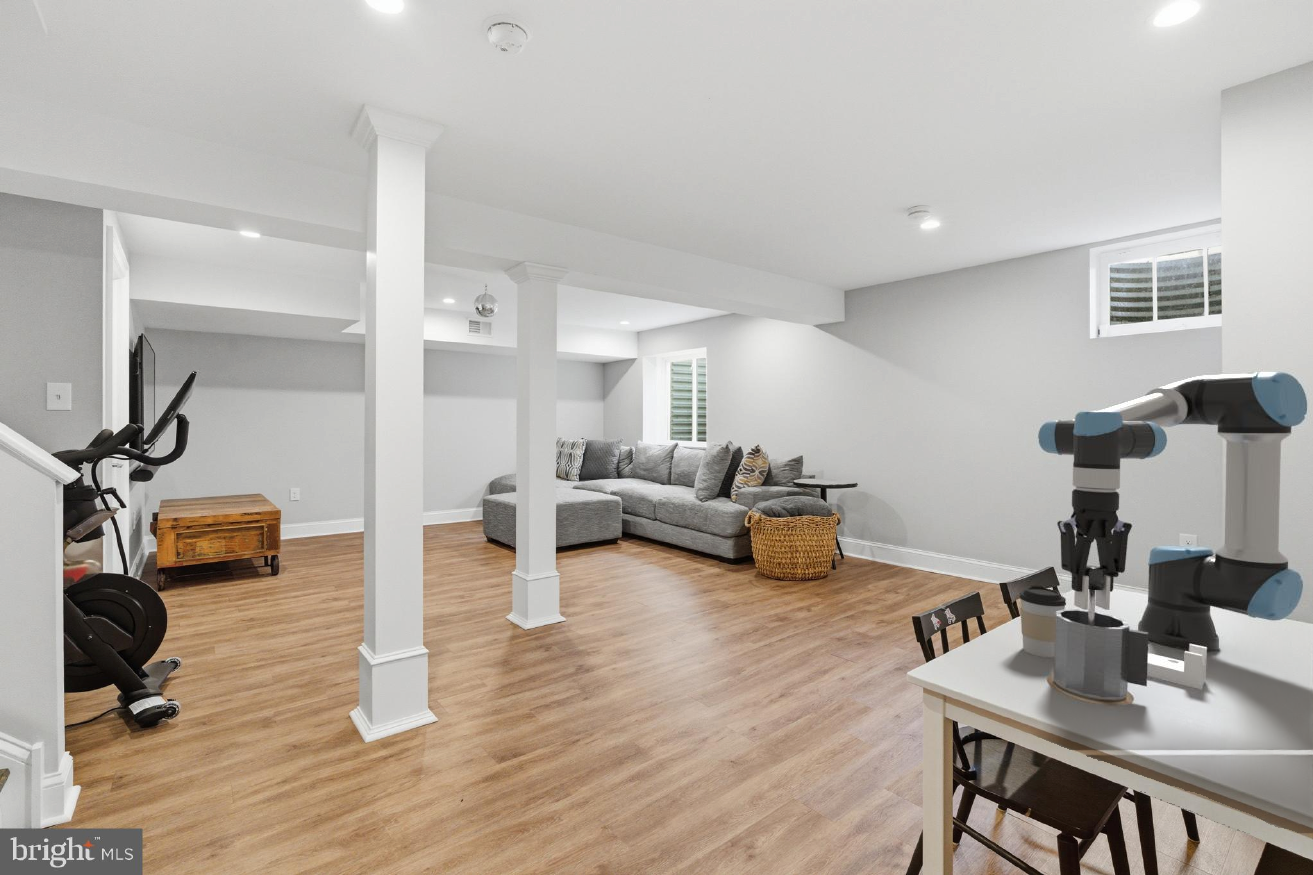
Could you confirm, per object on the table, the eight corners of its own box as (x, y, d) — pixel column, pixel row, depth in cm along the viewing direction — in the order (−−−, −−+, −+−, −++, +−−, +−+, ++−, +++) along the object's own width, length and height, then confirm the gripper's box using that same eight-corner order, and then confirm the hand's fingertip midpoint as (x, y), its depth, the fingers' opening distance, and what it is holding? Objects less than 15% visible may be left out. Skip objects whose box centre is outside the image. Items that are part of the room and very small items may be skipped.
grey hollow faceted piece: (1102, 675, 126) (1105, 609, 125) (1150, 702, 114) (1153, 629, 113) (1040, 675, 125) (1042, 609, 125) (1081, 702, 113) (1083, 629, 113)
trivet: (1097, 676, 127) (1097, 673, 127) (1153, 708, 113) (1153, 705, 113) (1031, 676, 126) (1031, 673, 126) (1079, 708, 112) (1079, 705, 112)
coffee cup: (1072, 663, 133) (1074, 596, 133) (1027, 659, 135) (1029, 593, 135) (1053, 648, 142) (1055, 585, 142) (1011, 645, 144) (1013, 582, 143)
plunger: (1094, 659, 123) (1097, 562, 123) (1125, 675, 115) (1129, 572, 115) (1055, 659, 123) (1058, 562, 123) (1084, 675, 115) (1087, 572, 115)
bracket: (1205, 683, 124) (1206, 647, 124) (1200, 693, 120) (1201, 655, 119) (1127, 663, 134) (1128, 630, 134) (1119, 672, 129) (1120, 637, 129)
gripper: (1122, 487, 122) (1118, 601, 123) (1041, 486, 122) (1037, 601, 123) (1153, 492, 115) (1148, 613, 115) (1067, 491, 114) (1063, 613, 115)
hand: (1091, 607), depth 119 cm, fingers closed on plunger, 4 cm apart
